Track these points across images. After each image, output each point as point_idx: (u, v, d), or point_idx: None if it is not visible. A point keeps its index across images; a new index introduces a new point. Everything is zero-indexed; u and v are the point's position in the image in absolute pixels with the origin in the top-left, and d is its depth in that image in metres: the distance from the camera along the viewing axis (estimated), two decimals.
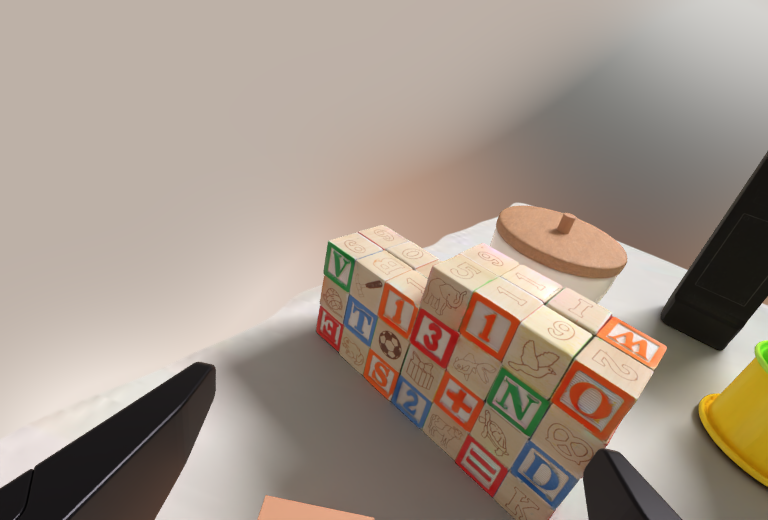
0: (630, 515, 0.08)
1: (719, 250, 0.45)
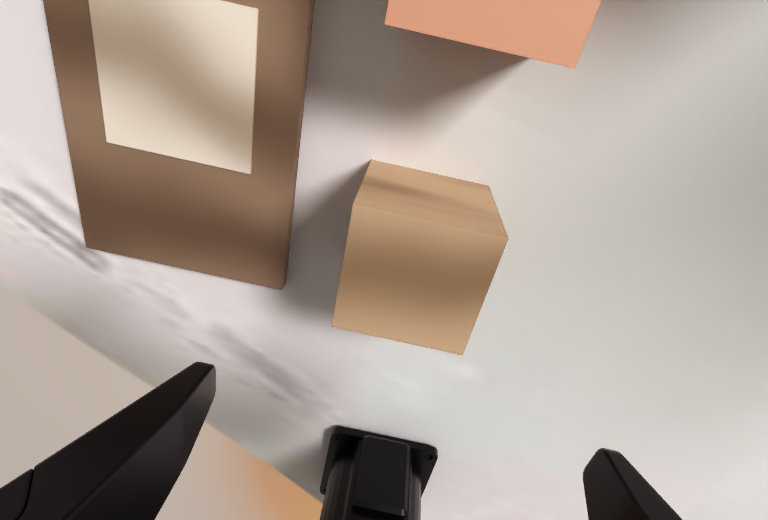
0: (630, 515, 0.08)
1: None
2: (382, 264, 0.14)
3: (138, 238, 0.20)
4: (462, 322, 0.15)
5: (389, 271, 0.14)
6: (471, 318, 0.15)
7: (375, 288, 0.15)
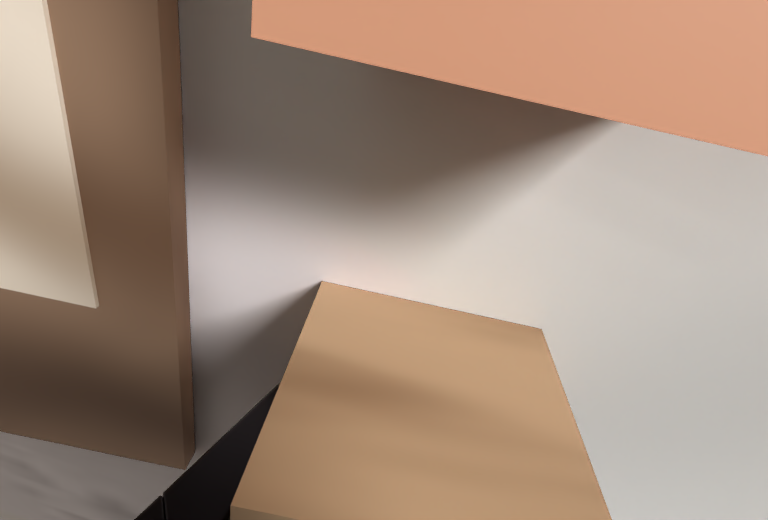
0: None
1: None
2: None
3: None
4: None
5: None
6: None
7: None
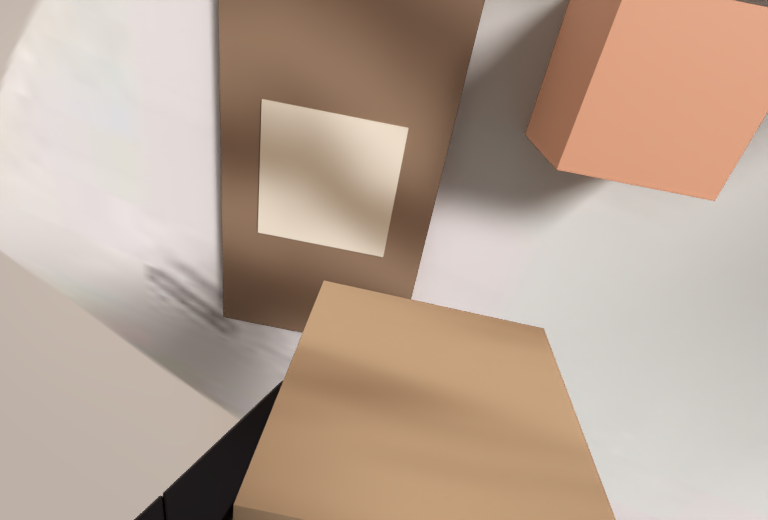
0: None
1: None
2: None
3: (272, 309, 0.22)
4: None
5: None
6: None
7: None
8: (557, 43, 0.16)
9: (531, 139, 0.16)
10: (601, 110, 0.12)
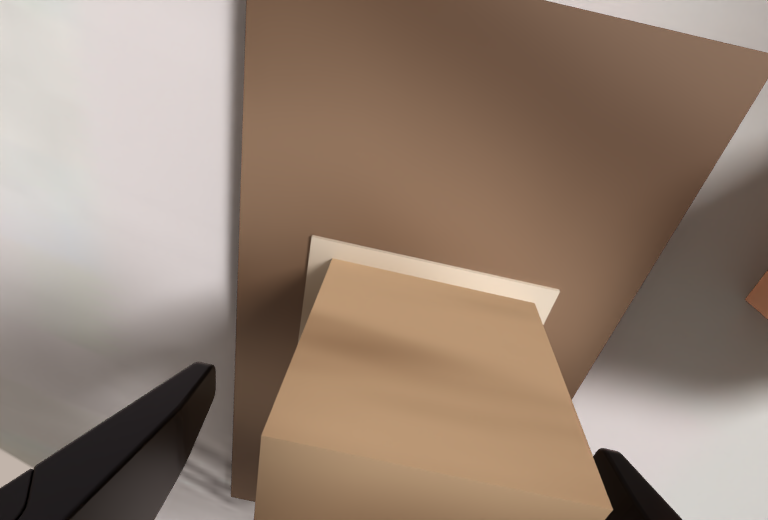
0: (630, 515, 0.08)
1: None
2: None
3: None
4: None
5: None
6: None
7: None
8: None
9: None
10: None
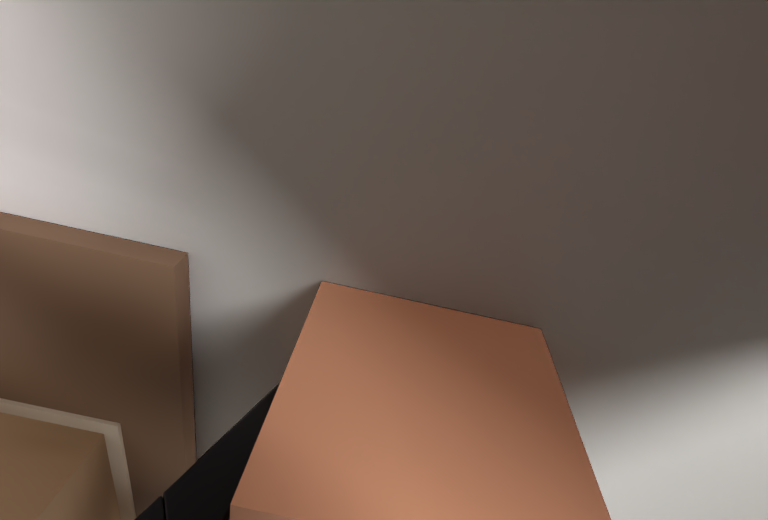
0: None
1: None
2: None
3: None
4: None
5: None
6: None
7: None
8: None
9: None
10: None
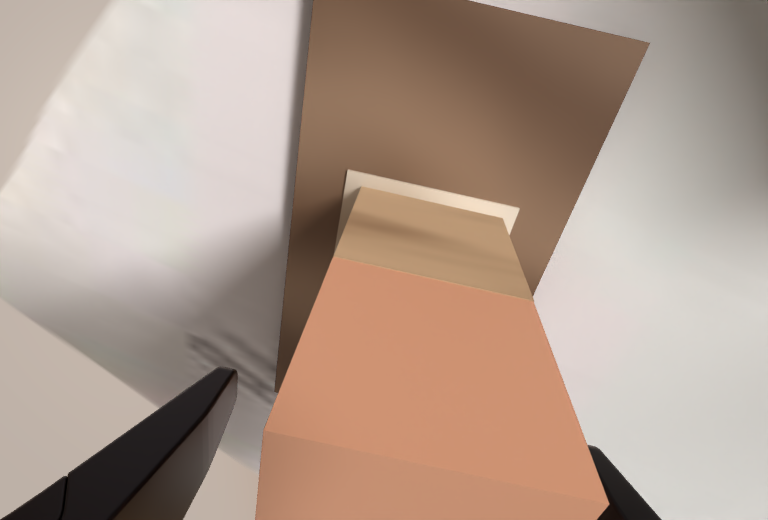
0: (605, 510, 0.08)
1: None
2: None
3: None
4: None
5: None
6: None
7: None
8: None
9: None
10: None
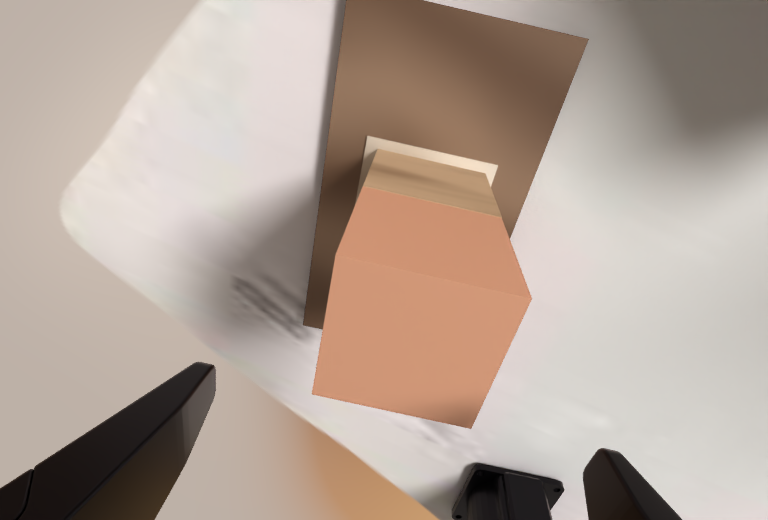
0: (630, 515, 0.08)
1: None
2: None
3: None
4: None
5: None
6: None
7: None
8: None
9: None
10: (340, 352, 0.12)
